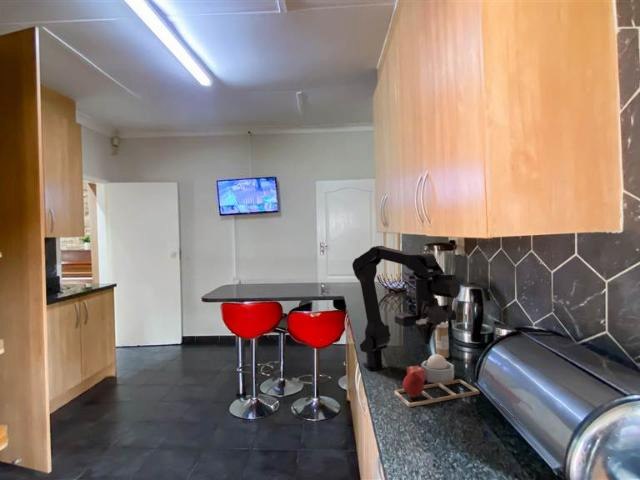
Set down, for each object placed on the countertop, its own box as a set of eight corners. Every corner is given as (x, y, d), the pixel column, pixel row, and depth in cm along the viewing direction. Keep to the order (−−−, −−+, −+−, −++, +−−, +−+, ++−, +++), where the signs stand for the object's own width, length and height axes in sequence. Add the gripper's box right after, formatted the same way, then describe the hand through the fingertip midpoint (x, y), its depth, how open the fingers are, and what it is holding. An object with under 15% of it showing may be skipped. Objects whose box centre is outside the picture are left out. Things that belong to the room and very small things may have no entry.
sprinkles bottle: (434, 354, 140) (433, 320, 140) (445, 353, 140) (444, 319, 140) (439, 359, 135) (438, 323, 135) (451, 358, 136) (450, 322, 135)
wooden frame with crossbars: (394, 393, 109) (393, 390, 109) (460, 381, 116) (459, 379, 116) (409, 407, 101) (408, 404, 101) (479, 393, 107) (479, 390, 107)
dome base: (403, 376, 122) (402, 362, 121) (441, 369, 125) (441, 356, 125) (418, 387, 112) (417, 373, 112) (459, 380, 116) (459, 366, 116)
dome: (421, 370, 122) (421, 352, 122) (440, 367, 124) (440, 349, 124) (434, 378, 115) (433, 359, 115) (453, 375, 117) (453, 356, 117)
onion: (420, 392, 109) (419, 366, 109) (426, 401, 103) (425, 373, 103) (401, 393, 109) (400, 367, 109) (406, 402, 103) (405, 375, 103)
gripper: (412, 302, 102) (414, 357, 102) (468, 295, 108) (469, 347, 108) (393, 295, 113) (395, 345, 113) (444, 289, 118) (445, 337, 119)
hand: (426, 344), depth 113 cm, fingers closed
